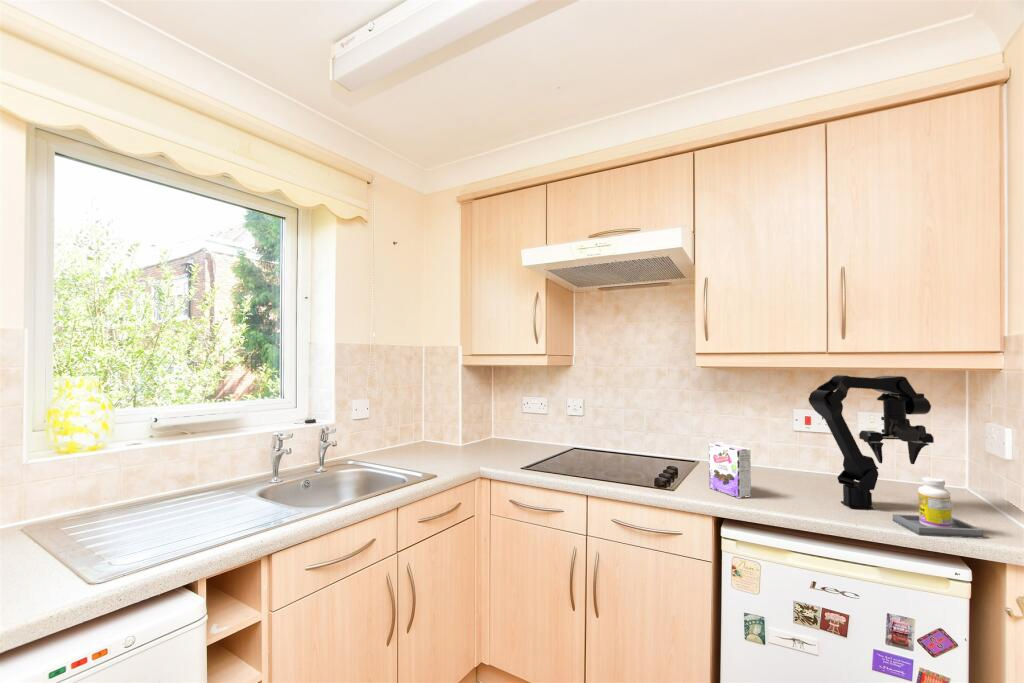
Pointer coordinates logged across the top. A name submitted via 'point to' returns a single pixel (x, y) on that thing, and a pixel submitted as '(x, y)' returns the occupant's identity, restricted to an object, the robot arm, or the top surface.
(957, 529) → the tray
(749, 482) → the candy box
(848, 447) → the robot arm
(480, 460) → the top surface
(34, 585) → the top surface
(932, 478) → the supplement bottle
